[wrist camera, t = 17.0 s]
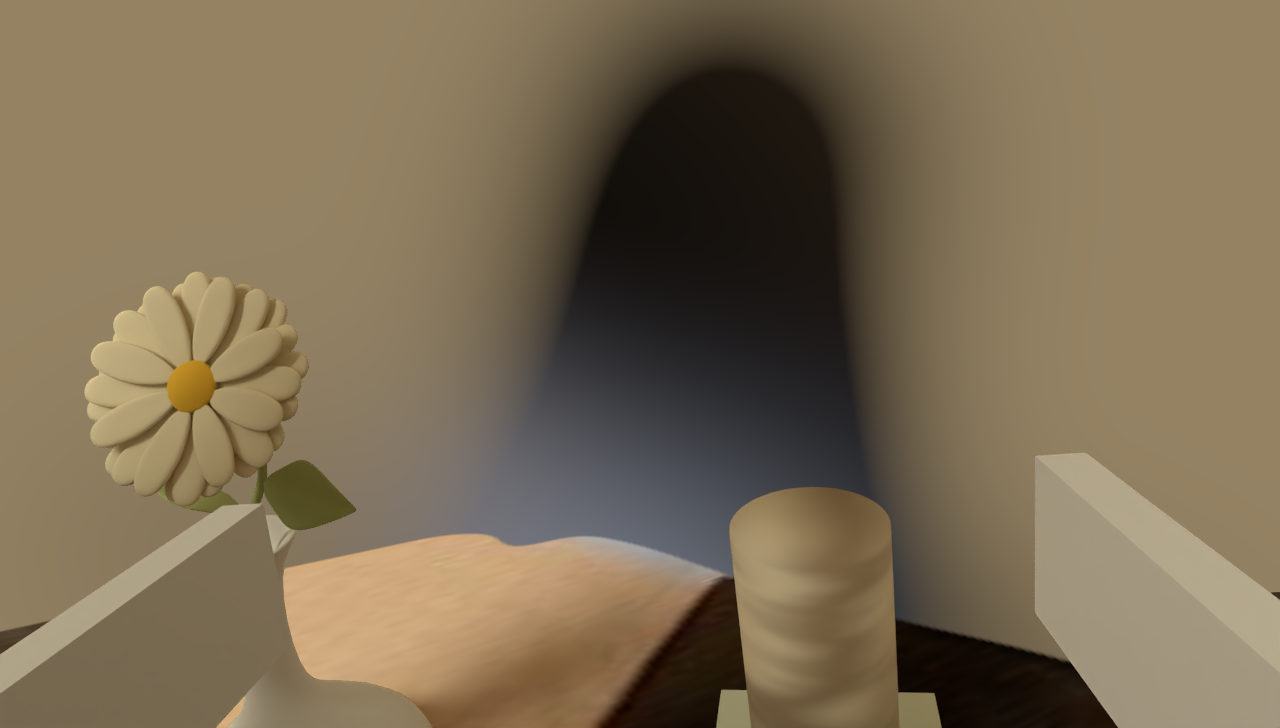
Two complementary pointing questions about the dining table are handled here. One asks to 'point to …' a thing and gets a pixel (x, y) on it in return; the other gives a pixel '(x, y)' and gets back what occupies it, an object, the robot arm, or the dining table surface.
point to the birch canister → (816, 609)
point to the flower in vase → (227, 455)
